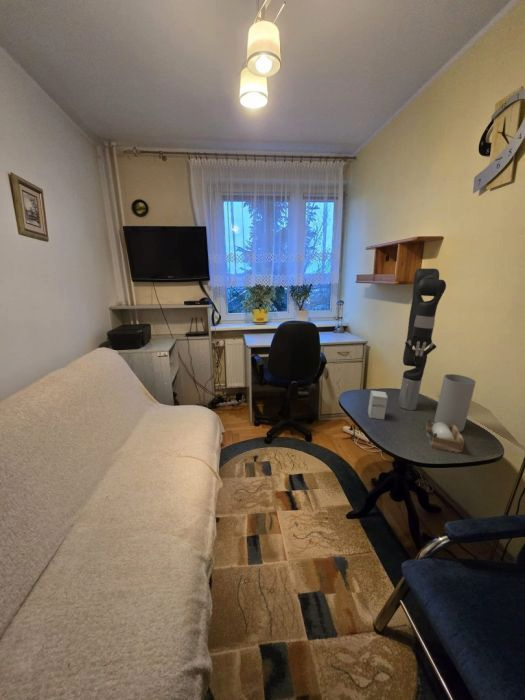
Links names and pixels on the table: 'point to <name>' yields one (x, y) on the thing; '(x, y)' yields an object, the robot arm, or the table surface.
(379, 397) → the supplement box
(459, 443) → the oak cradle
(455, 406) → the cylinder vase
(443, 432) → the paper roll
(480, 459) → the table surface
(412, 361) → the robot arm
